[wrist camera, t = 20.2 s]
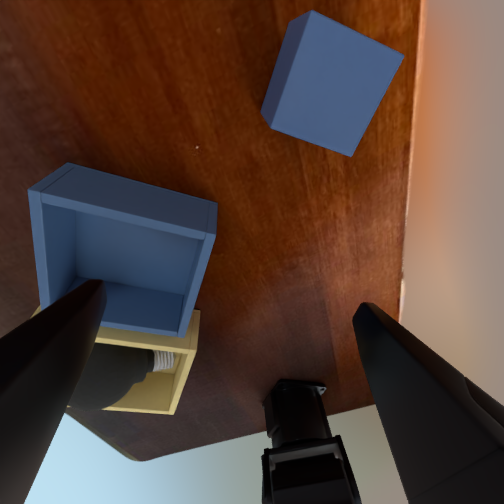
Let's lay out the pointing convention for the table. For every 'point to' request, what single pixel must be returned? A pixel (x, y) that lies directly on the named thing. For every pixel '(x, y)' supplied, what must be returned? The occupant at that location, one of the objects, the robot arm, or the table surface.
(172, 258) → the blue bin
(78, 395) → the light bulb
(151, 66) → the table surface
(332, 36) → the blue block
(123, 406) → the cream bin
